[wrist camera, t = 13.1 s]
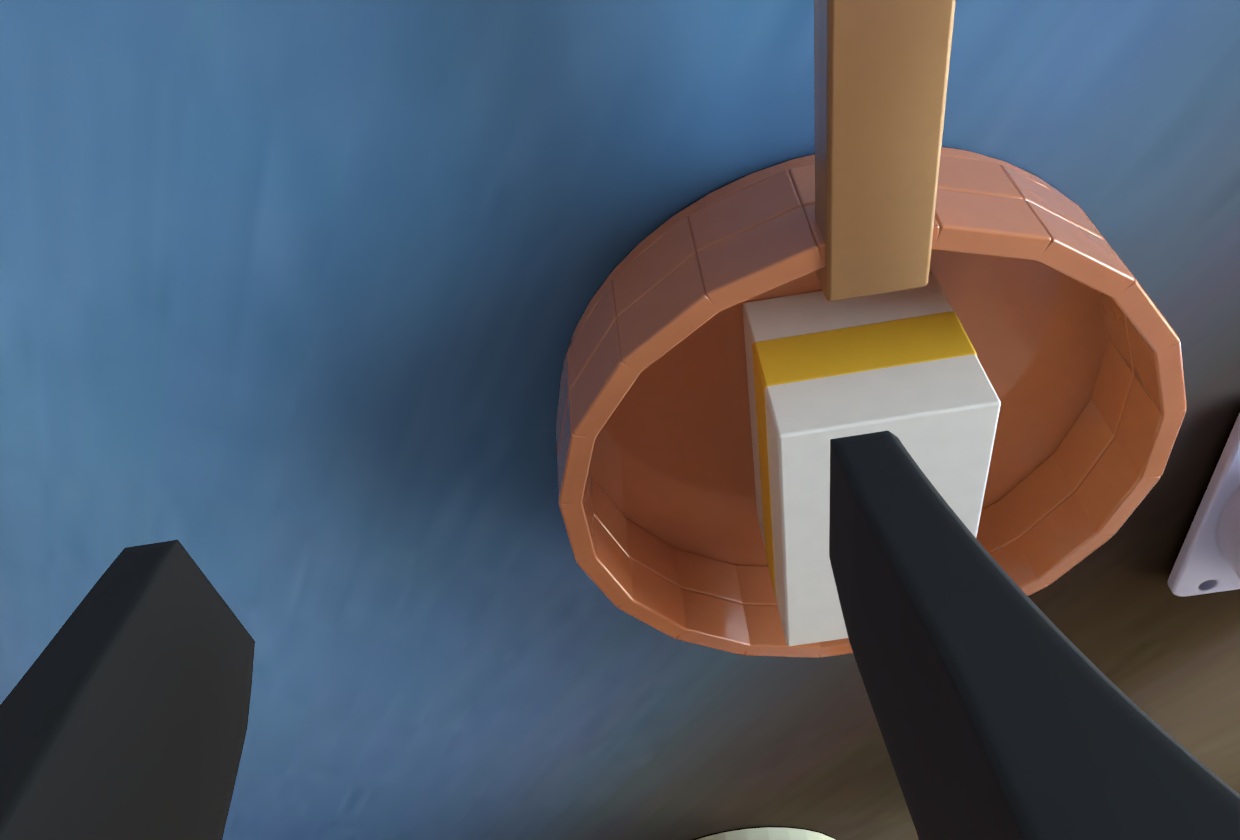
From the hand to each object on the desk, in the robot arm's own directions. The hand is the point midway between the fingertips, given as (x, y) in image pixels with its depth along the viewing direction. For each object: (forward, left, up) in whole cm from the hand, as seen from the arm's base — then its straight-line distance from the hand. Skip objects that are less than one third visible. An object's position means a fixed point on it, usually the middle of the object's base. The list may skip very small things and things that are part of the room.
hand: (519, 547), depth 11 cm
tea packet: (-6, +8, -9) cm, 13 cm away
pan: (-6, +8, -10) cm, 13 cm away
